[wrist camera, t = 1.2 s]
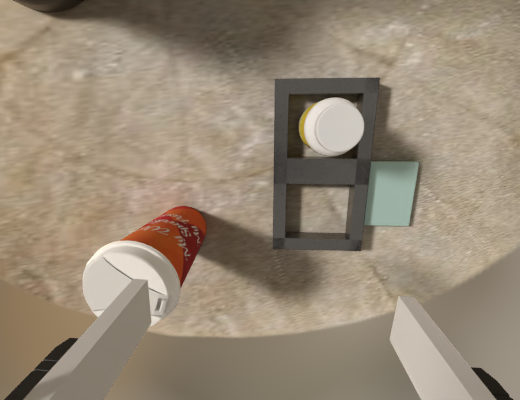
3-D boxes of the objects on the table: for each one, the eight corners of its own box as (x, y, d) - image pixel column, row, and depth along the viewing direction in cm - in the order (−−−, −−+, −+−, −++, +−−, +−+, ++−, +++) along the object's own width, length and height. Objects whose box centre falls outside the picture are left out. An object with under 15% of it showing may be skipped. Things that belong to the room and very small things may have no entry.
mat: (368, 161, 32) (371, 161, 31) (415, 161, 32) (419, 162, 31) (362, 222, 34) (364, 225, 34) (405, 223, 34) (408, 225, 33)
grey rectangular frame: (275, 81, 30) (275, 79, 28) (373, 80, 30) (379, 77, 28) (273, 242, 36) (272, 248, 34) (355, 244, 35) (360, 250, 33)
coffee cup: (222, 209, 35) (185, 268, 21) (205, 261, 37) (161, 347, 23) (162, 188, 35) (80, 233, 20) (148, 242, 37) (67, 317, 23)
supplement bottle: (296, 148, 32) (304, 158, 23) (300, 101, 31) (310, 91, 21) (340, 151, 32) (367, 161, 23) (347, 103, 31) (378, 94, 21)
